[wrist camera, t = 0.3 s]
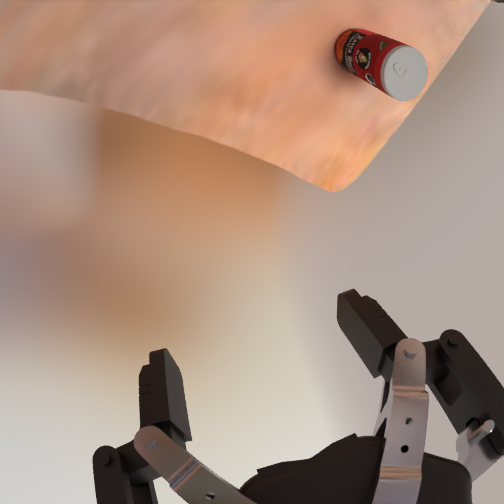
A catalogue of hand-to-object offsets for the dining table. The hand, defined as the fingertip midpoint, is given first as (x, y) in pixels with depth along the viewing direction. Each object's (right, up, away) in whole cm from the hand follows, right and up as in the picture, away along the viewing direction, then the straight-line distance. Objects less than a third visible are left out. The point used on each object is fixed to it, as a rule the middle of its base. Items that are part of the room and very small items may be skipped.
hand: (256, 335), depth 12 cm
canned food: (+15, +33, +19) cm, 41 cm away
